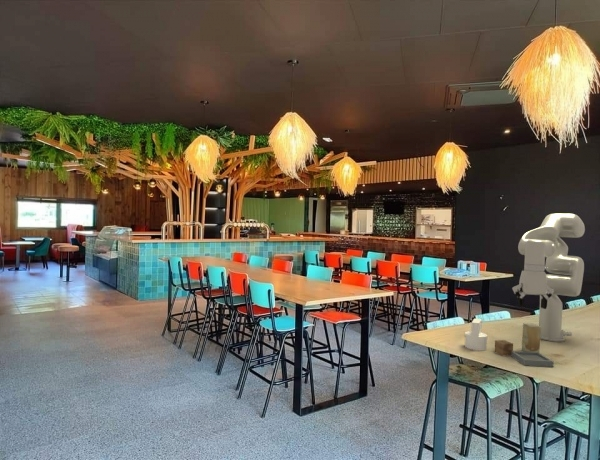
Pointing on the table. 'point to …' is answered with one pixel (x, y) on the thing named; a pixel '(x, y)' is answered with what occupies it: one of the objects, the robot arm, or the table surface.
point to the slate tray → (532, 358)
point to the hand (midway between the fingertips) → (532, 307)
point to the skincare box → (531, 337)
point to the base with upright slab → (476, 337)
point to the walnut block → (503, 347)
